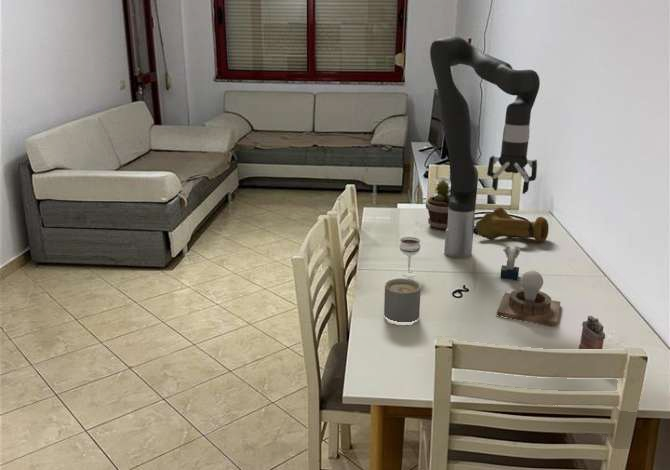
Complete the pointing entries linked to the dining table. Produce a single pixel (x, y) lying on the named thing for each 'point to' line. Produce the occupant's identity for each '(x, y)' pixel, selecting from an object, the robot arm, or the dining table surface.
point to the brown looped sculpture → (511, 226)
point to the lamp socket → (529, 308)
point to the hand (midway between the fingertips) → (509, 191)
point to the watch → (510, 263)
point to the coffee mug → (402, 300)
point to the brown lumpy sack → (592, 334)
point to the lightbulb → (531, 285)
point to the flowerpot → (439, 207)
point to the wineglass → (409, 247)
